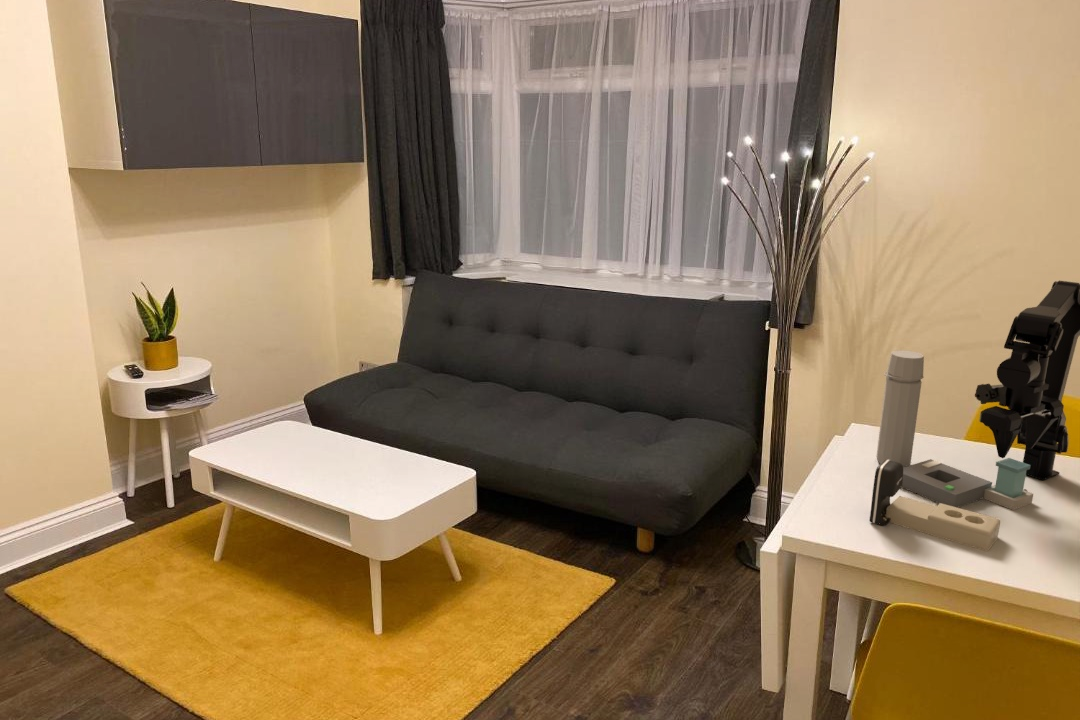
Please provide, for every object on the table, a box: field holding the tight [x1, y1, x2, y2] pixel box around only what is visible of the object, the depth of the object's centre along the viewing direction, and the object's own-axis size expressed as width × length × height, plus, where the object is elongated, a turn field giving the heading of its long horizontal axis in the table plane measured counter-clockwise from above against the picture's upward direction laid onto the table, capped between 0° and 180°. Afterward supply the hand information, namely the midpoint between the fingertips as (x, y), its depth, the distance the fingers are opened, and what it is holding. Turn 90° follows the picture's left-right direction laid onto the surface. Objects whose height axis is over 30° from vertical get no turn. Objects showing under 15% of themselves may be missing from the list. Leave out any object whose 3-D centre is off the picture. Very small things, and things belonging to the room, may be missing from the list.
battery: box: [869, 459, 903, 526], centre depth 163 cm, size 7×4×11 cm, turn 143°
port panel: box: [901, 458, 993, 508], centre depth 178 cm, size 12×14×3 cm
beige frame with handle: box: [983, 484, 1034, 511], centre depth 174 cm, size 9×6×2 cm
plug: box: [994, 457, 1031, 498], centre depth 172 cm, size 4×4×8 cm
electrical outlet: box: [886, 495, 1001, 552], centre depth 161 cm, size 7×4×18 cm
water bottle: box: [875, 349, 925, 467], centre depth 189 cm, size 9×8×25 cm
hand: (1015, 452), depth 171 cm, fingers open, 9 cm apart
